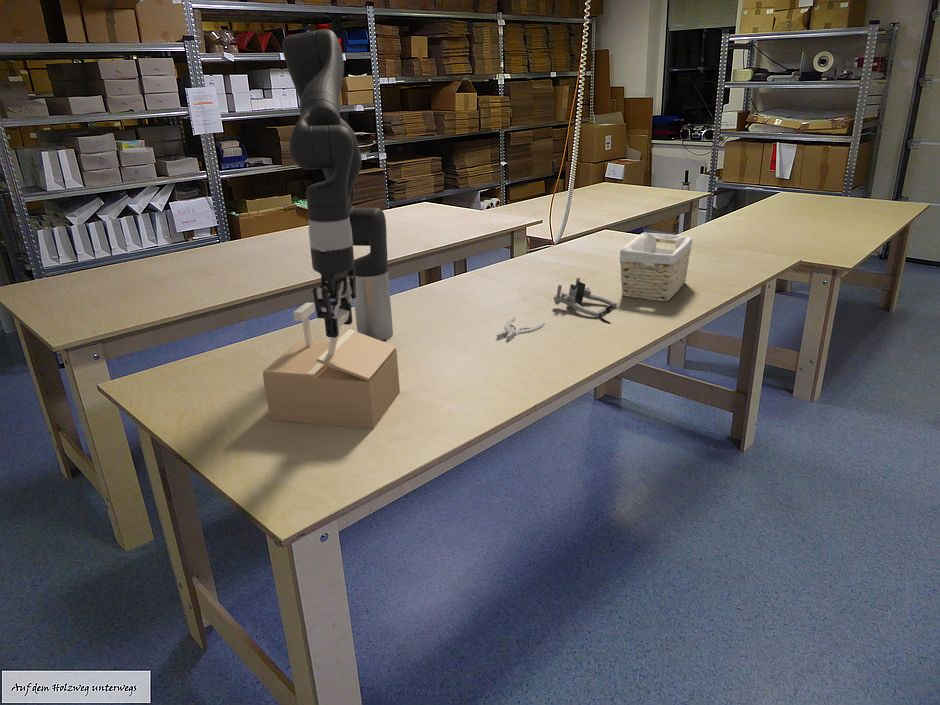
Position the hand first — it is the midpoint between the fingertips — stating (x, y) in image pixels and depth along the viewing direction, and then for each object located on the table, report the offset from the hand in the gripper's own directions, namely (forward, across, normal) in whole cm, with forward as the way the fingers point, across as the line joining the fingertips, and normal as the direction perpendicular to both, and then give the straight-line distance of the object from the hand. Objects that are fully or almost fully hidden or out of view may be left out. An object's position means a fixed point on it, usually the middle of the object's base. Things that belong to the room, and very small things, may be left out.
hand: (339, 329), depth 125 cm
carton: (+19, -4, -4) cm, 20 cm away
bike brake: (+19, -71, +44) cm, 86 cm away
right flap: (+7, -4, +1) cm, 8 cm away
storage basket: (+18, -92, +61) cm, 112 cm away
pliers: (+19, -52, +26) cm, 61 cm away
